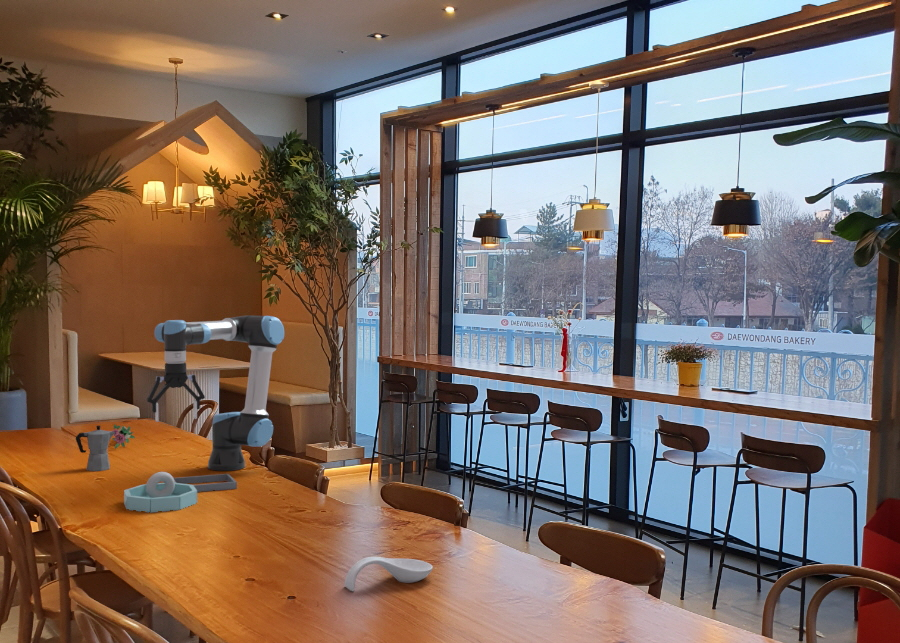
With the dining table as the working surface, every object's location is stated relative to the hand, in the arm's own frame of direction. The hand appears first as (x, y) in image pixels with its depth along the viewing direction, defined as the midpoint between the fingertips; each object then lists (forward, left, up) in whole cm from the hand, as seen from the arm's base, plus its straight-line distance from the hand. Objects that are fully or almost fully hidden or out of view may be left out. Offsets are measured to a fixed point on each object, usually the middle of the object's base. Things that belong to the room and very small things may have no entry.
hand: (176, 419), depth 306 cm
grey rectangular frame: (-11, -3, -26) cm, 29 cm away
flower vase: (+9, -103, -27) cm, 107 cm away
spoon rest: (-36, +121, -27) cm, 129 cm away
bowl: (+7, +17, -26) cm, 32 cm away
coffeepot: (+24, -50, -27) cm, 62 cm away
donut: (+7, +17, -26) cm, 31 cm away
